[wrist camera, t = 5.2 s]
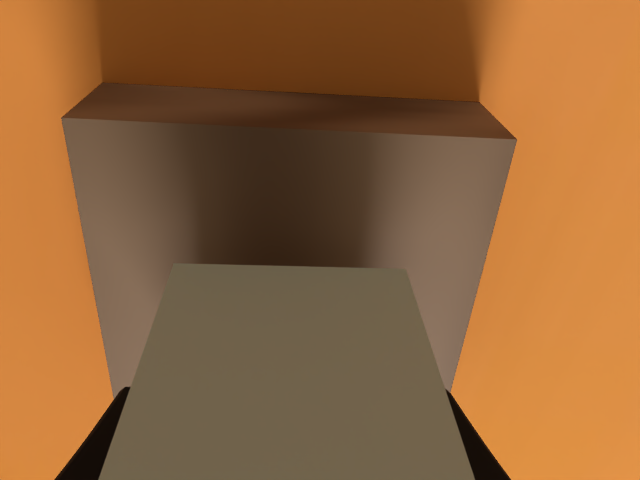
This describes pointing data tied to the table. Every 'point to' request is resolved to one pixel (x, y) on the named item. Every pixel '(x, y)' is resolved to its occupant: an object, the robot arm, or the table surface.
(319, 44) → the table surface
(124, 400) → the robot arm
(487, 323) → the table surface
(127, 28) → the table surface
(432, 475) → the sage cube
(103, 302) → the walnut base
